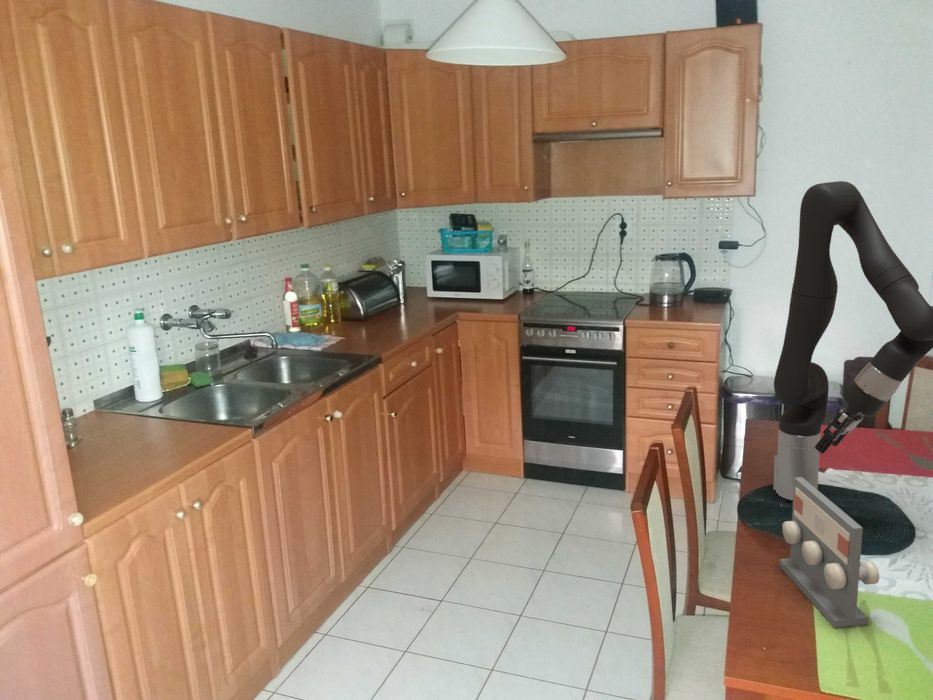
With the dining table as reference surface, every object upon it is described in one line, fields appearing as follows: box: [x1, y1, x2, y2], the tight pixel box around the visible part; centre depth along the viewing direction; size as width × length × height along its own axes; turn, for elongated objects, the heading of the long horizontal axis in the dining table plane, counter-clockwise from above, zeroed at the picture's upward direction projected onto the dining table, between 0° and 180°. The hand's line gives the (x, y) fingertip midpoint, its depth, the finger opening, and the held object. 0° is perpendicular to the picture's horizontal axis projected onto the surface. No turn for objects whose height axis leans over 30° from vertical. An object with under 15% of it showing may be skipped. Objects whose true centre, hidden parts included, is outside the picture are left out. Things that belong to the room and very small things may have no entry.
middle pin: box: [802, 541, 823, 565], centre depth 144 cm, size 8×4×4 cm, turn 94°
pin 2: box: [824, 560, 880, 589], centre depth 136 cm, size 8×4×4 cm, turn 94°
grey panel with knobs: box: [778, 477, 868, 629], centre depth 143 cm, size 6×21×20 cm, turn 4°
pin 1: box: [781, 520, 802, 545], centre depth 151 cm, size 8×4×4 cm, turn 94°
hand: (825, 447), depth 164 cm, fingers open, 8 cm apart
